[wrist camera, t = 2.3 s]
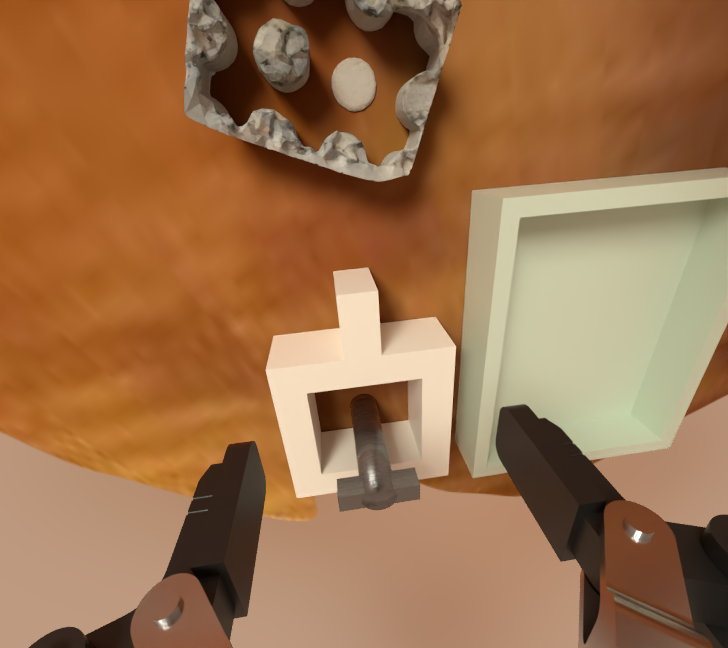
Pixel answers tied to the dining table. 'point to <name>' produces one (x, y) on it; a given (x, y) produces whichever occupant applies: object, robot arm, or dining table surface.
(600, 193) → the tray
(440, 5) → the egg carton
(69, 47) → the dining table surface
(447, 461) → the cream rectangular frame
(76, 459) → the dining table surface
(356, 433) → the T-head stake
